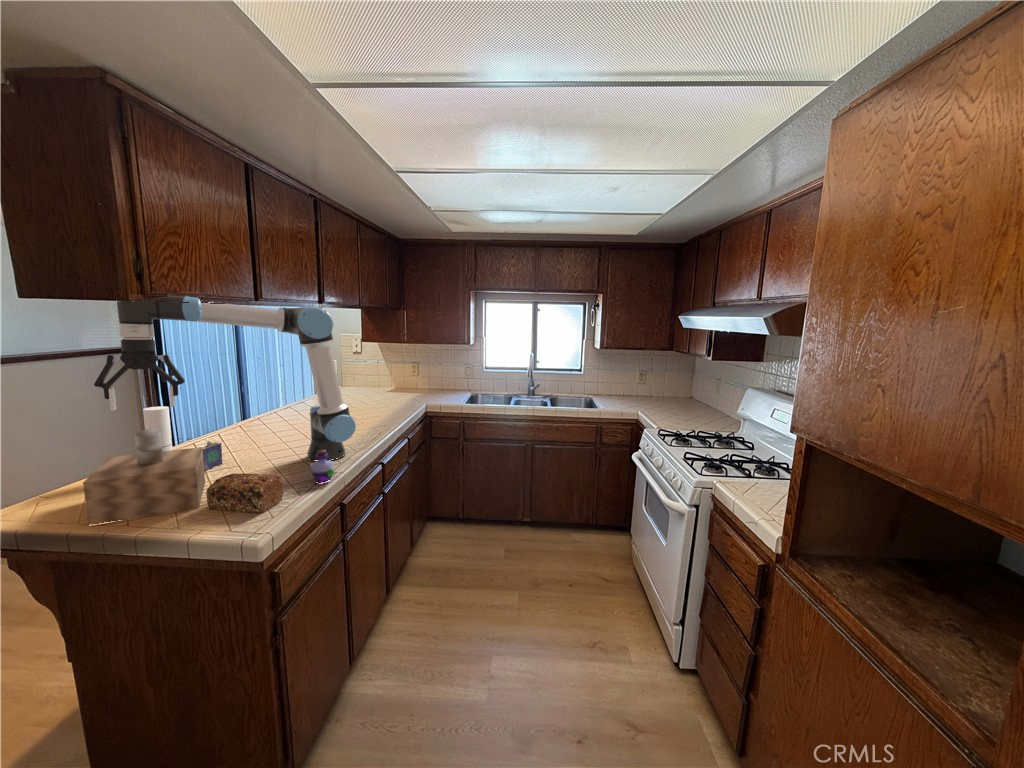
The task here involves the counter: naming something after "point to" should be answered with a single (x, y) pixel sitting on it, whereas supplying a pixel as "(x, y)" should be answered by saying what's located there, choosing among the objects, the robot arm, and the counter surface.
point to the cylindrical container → (159, 424)
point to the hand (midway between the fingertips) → (144, 408)
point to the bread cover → (145, 482)
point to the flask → (212, 455)
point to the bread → (245, 492)
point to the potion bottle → (322, 467)
